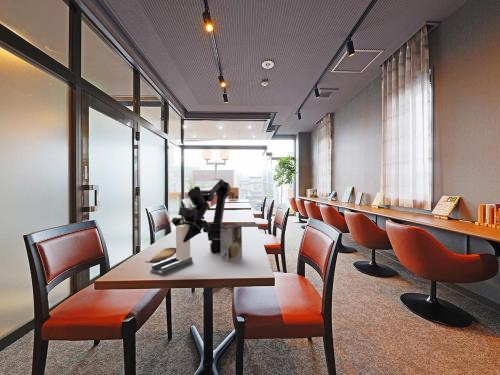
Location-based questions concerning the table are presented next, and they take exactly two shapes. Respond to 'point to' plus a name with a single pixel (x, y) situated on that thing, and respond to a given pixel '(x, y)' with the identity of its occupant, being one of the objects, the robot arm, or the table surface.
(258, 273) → the table surface
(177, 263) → the grey rectangular tray
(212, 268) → the table surface
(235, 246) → the coffee box
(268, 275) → the table surface
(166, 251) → the parchment
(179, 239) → the cream rectangular block
